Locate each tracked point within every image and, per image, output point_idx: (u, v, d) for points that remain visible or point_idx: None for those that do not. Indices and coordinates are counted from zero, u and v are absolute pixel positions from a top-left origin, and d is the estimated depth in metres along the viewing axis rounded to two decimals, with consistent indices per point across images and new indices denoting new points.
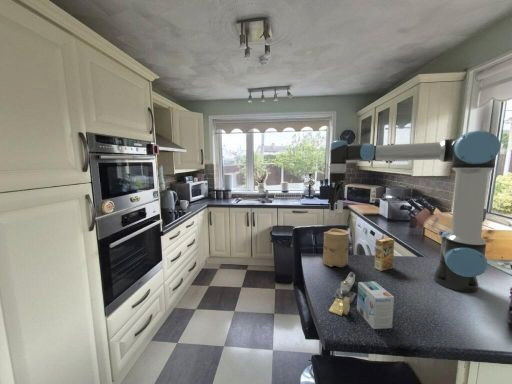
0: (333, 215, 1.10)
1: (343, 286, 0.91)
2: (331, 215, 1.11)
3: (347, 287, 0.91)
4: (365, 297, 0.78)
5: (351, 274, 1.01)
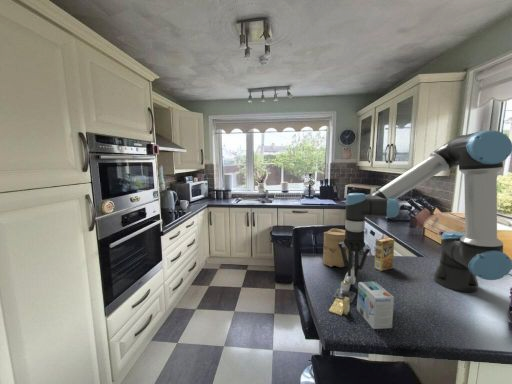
0: None
1: (343, 286, 0.91)
2: None
3: (347, 287, 0.91)
4: (365, 297, 0.78)
5: None
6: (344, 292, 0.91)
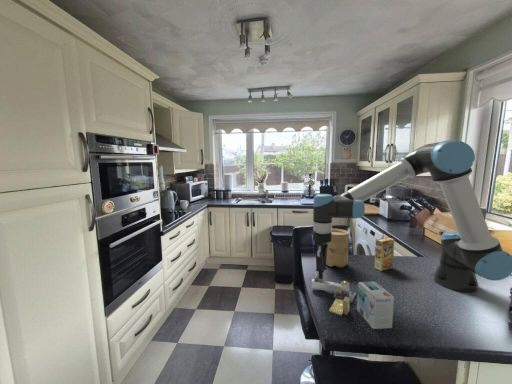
0: None
1: None
2: None
3: None
4: (365, 297, 0.78)
5: (317, 279, 0.97)
6: None
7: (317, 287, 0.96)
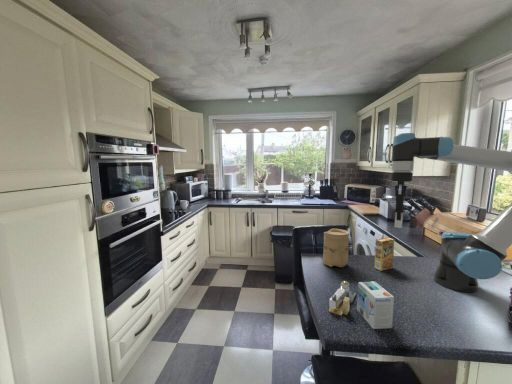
0: (400, 226, 0.96)
1: None
2: (397, 226, 0.97)
3: None
4: (365, 297, 0.78)
5: None
6: None
7: (338, 304, 0.83)
